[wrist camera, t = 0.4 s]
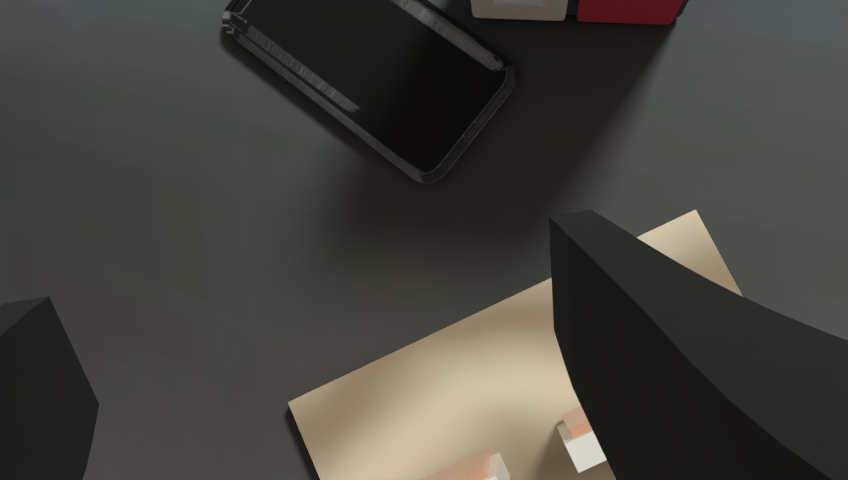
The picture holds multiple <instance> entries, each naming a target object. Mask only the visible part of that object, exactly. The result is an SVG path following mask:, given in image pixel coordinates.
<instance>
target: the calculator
mask: <svg viewBox="0 0 848 480" xmlns="http://www.w3.org/2000/svg"><path fill="white" fill-rule="evenodd" d="M463 1H464V6H465V8H466V9H468V10H470V11H472V14H473V16H474V17H476V18H495V19H522V20H549V21H561V20H564V19H565V16H566V14H570V15H577V20H578V21H582V22H604V23H632V24H659V25H667V24H671V23H672V21H673V20H674V18H675V17H678V16H680V15H681V14H682V12H683V10H684V8H685V6H686V4H687V2H688V1H689V0H463Z"/></svg>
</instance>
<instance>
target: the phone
mask: <svg viewBox="0 0 848 480" xmlns="http://www.w3.org/2000/svg"><path fill="white" fill-rule="evenodd" d="M222 23H223V27H224V29H225V31H226V32H227V33H228V34H229V35H230V36H231V37H232V38H233V39H234V40H235V41H236V42H237V43H238V44H240V45H241V46H242V47H243V49H244V50H245V51H247V52H248V53H249V54H251V55H252V54H253V55H254V56H255V57H256V58H258V59H259V60H258V61H259V62H260V63H262V64H263V65H264V66H266V67H267V68H268V69H269V70H271V71H274V72H276V73H275V75H277V76H278V77H279V78H280V79H282V80H283V81H284V82H286V83H287V84H288V82H289V83H290V84H291V85H293V86H294V87H295V88H296V89H298V90H299V91H300V92H302V93H303V94H304V95H305V96H307V97H308V98H309V99H311V100H312V101H313V102H314V103H316V104H317V105H318V106H320V107H321V108H322V109H323V110H325V111H326V112H327V113H329V114H330V115H331V116H332V117H334V118H335V119H336V120H338V121H339V122H340V123H341V124H343V125H344V126H345V127H347V128H348V129H349V130H351V131H352V132H353V133H354V134H356V135H357V136H358V137H360V138H361V139H362V140H363V141H365V142H366V143H367V144H369V145H370V146H371V147H372V148H374V149H375V150H376V151H378V152H379V153H380V154H381V155H383V156H384V157H385V158H387V159H388V160H389V161H390V162H392V163H393V164H394V165H396V166H397V167H398V168H399V169H401V170H402V171H403V172H405V173H406V174H407V175H408V176H410V177H411V178H412V179H414V180H416V181H417V182H419V183H424V184H430V183H435V182H437V181H439V180H441V179H442V178H443V177H444V176H445V175H446V174H447V172H448V171H449V170H450V169H451V167H452V166H453V165H454V164H455V162H456V161H457V160H458V159H459V157H460V156H461V155H462V153H463V152H464V151H465V150H466V148H467V147H468V146H469V145H470V143H471V142H472V141H473V140H474V138H475V137H476V136H477V135H478V133H479V132H480V131H481V130H482V128H483V127H484V126H485V125H486V123H487V122H488V121H489V120H490V118H491V117H492V116H493V115H494V113H495V112H496V111H497V110H498V108H499V107H500V106H501V105H502V103H503V102H504V101H505V100H506V98H507V97H508V96H509V95H510V93H511V92H512V90H513V88H514V86H515V81H516V75H515V68H514V66H513V64H512V62H511V61H510V60H509V59H508V58H507V57H505V56H504V55H503V54H501V53H500V52H499V51H497V50H496V49H494V48H493V47H492V46H490V45H489V44H487V43H486V42H485V41H483V40H482V39H480V38H479V37H478V36H476V35H475V34H474V33H472V32H471V31H469V30H468V29H467V28H465V27H464V26H462V25H461V24H460V23H458V22H457V21H455V20H454V19H453V18H451V17H450V16H449V15H447V14H446V13H444V12H443V11H442V10H440V9H439V8H437V7H436V6H435V5H433V4H432V3H430V2H429V1H428V0H232V1H231V2H230V3H229V5H228V6H227V7H226V9H225V11H224V13H223V17H222ZM452 164H453V165H452ZM451 165H452V166H451Z"/></svg>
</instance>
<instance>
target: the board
mask: <svg viewBox="0 0 848 480" xmlns="http://www.w3.org/2000/svg"><path fill="white" fill-rule="evenodd" d="M637 238H638V239H640V240H641V241H643V242H645V243H646V244H648V245H650V246H651V247H653V248H655V249H656V250H658V251H660V252H661V253H663V254H665V255H666V256H668V257H670V258H671V259H673V260H675V261H677V262H678V263H680V264H682V265H683V266H685V267H687V268H689V269H691V270H692V271H694V272H696V273H698V274H700V275H702V276H703V277H705V278H707V279H709V280H711V281H713V282H715V283H717V284H719V285H721V286H723V287H725V288H727V289H729V290H731V291H732V292H734V293H736V294H738V295H740V296H742V294H741V292H740V291H739V289H738V287H737V285H736V283H735V281H734V279H733V278H732V276H731V274H730V272H729V270H728V268H727V267H726V265H725V263H724V261H723V259H722V257H721V255H720V254H719V252H718V250H717V248H716V246H715V244H714V242H713V241H712V239H711V237H710V235H709V233H708V231H707V229H706V228H705V226H704V224H703V222H702V220H701V218H700V217H699V215H698V213H697V211H696V210H694V211H692V212H689V213H687V214H685V215H683V216H681V217H679V218H677V219H675V220H673V221H670V222H668V223H666V224H664V225H662V226H660V227H658V228H656V229H653V230H651V231H649V232H647V233H645V234H643V235H641V236H639V237H637ZM742 297H743V296H742ZM288 404H289V406H290V409H291V411H292V414H293V416H294V418H295V421H296V423H297V425H298V428H299V430H300V433H301V435H302V437H303V440H304V442H305V445H306V447H307V449H308V452H309V454H310V456H311V459H312V461H313V464H314V466H315V468H316V471H317V473H318V476H319V478H320V480H421V479H424V478H426V477H428V476H430V475H432V474H434V473H437V472H439V471H441V470H443V469H445V468H447V467H450V466H452V465H454V464H456V463H458V462H460V461H463V460H465V459H467V458H469V457H471V456H473V455H476V454H478V453H480V452H482V451H484V450H487V449H488V451H489V453H490V455H491V456H492V455H494V454H496V453H498V452H499V453H500V455H501V457H502V460H503V462H504V464H505V466H506V468H507V470H508V472H509V475H510V480H616V478H615V476H614V474H613V472H612V470H611V468H610V465H609V463H608V461H607V460H606V461H604V462H601V463H599V464H597V465H595V466H593V467H591V468H588V469H586V470H584V471H582V472H580V473H578V471H577V469H576V467H575V465H574V463H573V461H572V459H571V456H570V454H569V452H568V450H567V448H566V446H565V444H564V442H563V439H562V437H561V435H560V433H559V430H558V428H557V425H559V424H561V423H563V422H564V421H563V419H562V417H561V415H562V414H565V413H567V412H569V411H571V410H573V409H575V408H578V407H580V406H581V405H580V403H579V400H578V398H577V396H576V394H575V392H574V390H573V387H572V385H571V382H570V379H569V376H568V373H567V370H566V367H565V364H564V361H563V357H562V354H561V351H560V348H559V345H558V341H557V338H556V335H555V332H554V321H553V298H552V278H550V279H548V280H546V281H543V282H541V283H539V284H537V285H535V286H533V287H531V288H529V289H527V290H524V291H522V292H520V293H518V294H516V295H514V296H512V297H510V298H508V299H505V300H503V301H501V302H499V303H497V304H495V305H493V306H491V307H488V308H486V309H484V310H482V311H480V312H478V313H476V314H474V315H472V316H469V317H467V318H465V319H463V320H461V321H459V322H457V323H455V324H453V325H450V326H448V327H446V328H444V329H442V330H440V331H438V332H436V333H433V334H431V335H429V336H427V337H425V338H423V339H421V340H419V341H417V342H414V343H412V344H410V345H408V346H406V347H404V348H402V349H400V350H398V351H395V352H393V353H391V354H389V355H387V356H385V357H383V358H381V359H378V360H376V361H374V362H372V363H370V364H368V365H366V366H364V367H362V368H359V369H357V370H355V371H353V372H351V373H349V374H347V375H345V376H343V377H340V378H338V379H336V380H334V381H332V382H330V383H328V384H326V385H323V386H321V387H319V388H317V389H315V390H313V391H311V392H309V393H307V394H304V395H302V396H300V397H298V398H296V399H294V400H292V401H290V402H288Z"/></svg>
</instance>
